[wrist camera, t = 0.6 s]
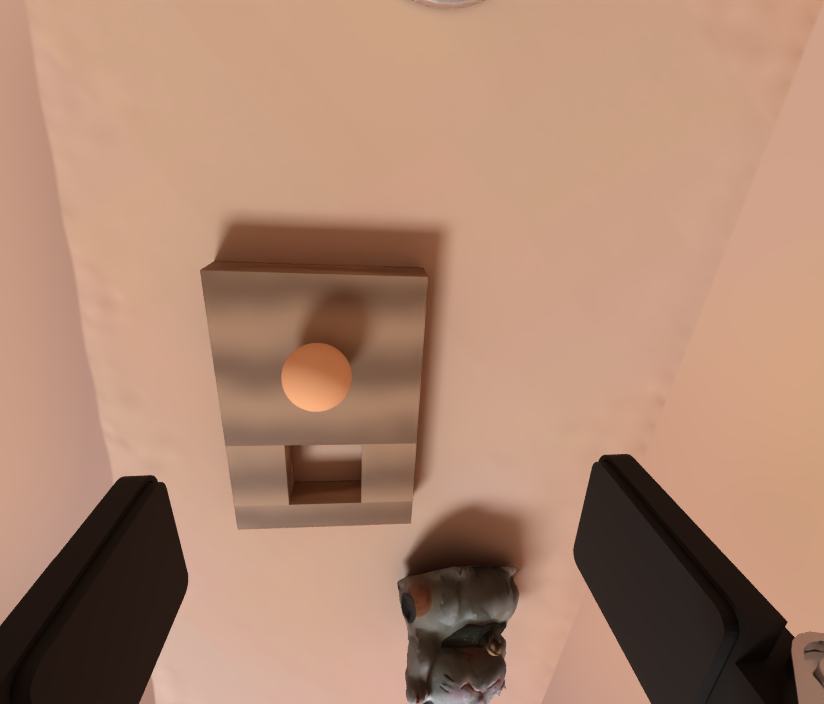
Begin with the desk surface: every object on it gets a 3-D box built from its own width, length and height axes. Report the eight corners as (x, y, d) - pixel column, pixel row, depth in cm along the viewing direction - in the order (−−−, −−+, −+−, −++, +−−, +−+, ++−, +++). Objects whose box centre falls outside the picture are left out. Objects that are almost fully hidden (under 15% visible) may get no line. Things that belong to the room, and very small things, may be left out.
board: (213, 261, 32) (200, 270, 30) (423, 267, 34) (428, 277, 31) (246, 505, 42) (237, 529, 39) (408, 500, 44) (410, 523, 41)
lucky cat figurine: (537, 568, 50) (566, 727, 41) (457, 583, 56) (469, 722, 48) (453, 549, 41) (469, 745, 33) (371, 569, 48) (366, 736, 39)
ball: (285, 332, 32) (272, 360, 28) (352, 333, 33) (350, 360, 28) (289, 390, 34) (277, 425, 30) (352, 390, 35) (350, 425, 30)
